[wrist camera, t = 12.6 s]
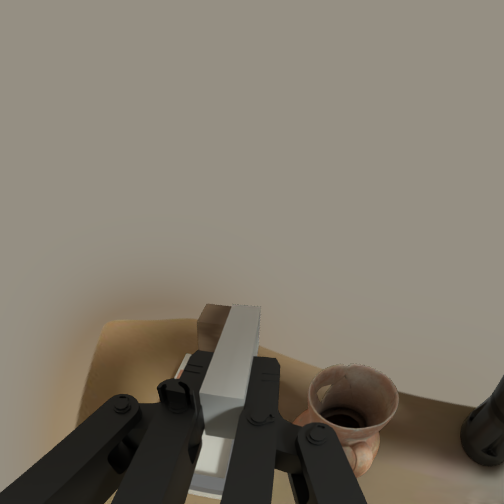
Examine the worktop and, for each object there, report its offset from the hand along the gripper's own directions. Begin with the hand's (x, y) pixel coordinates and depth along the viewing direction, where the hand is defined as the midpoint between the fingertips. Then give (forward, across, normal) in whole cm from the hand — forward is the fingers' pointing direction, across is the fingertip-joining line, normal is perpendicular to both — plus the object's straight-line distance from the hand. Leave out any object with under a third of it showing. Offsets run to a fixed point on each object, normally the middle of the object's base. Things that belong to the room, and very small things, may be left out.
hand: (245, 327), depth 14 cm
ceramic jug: (+10, +12, -31) cm, 35 cm away
